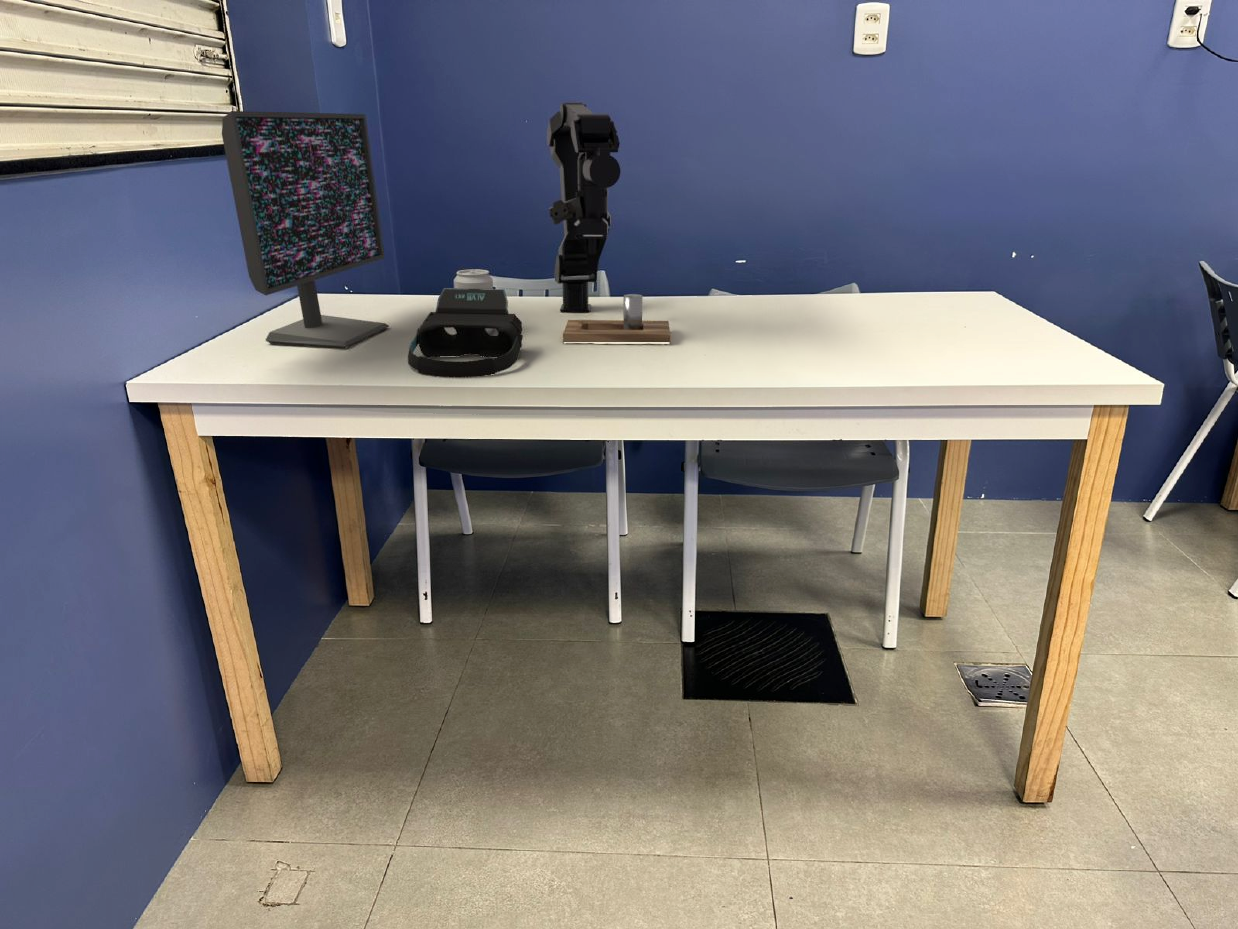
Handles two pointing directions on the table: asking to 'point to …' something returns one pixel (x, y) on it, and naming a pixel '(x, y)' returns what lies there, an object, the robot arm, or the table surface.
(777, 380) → the table surface
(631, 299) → the peg
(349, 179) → the computer monitor
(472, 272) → the can
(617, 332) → the keyhole board
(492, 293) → the virtual reality headset
